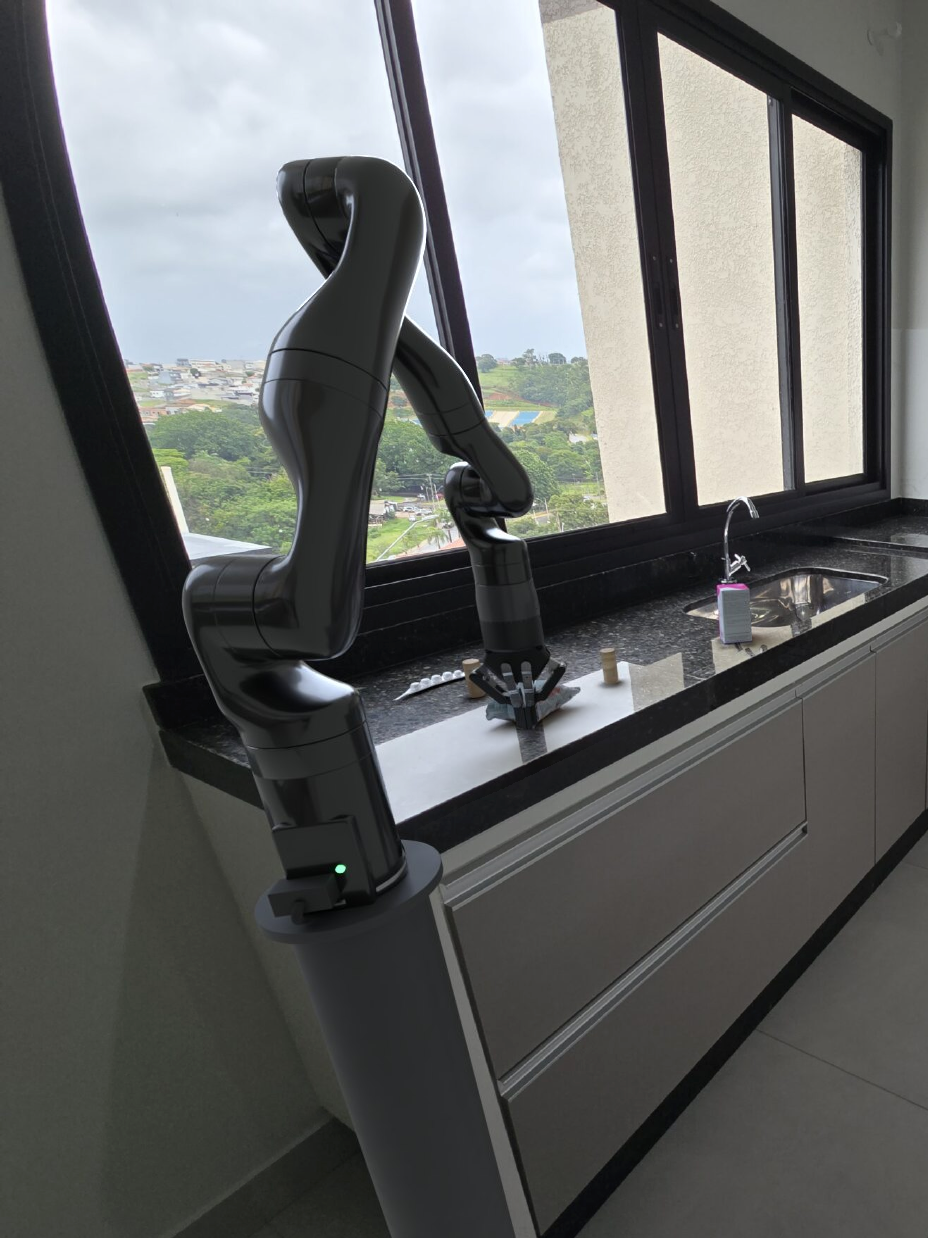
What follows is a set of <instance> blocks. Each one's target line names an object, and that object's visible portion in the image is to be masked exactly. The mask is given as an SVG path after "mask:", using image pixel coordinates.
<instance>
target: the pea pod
mask: <svg viewBox="0 0 928 1238" xmlns="http://www.w3.org/2000/svg"><path fill="white" fill-rule="evenodd" d="M461 678H465V674H464V671H462V670H460V669H457V670H455V671H453V673H452V671H444V672H443V673H442V675H440V674H434V675H432V676H431V677H430V678H428V677H427V678H426V677H424V678H422V679H421V680H420V681H419V682H412V683H410V685H409V688H408V689H407V690H406V691H405V692H404V693H403V694H401V695H400V696H398V697H397V698H395V699H394V701H395V702H396V701H399V700H401V699H402V698H404V697H406V696H408V695H412V694H415V693H417V692H420V691H423V690H425V689H428V688H430V687H433V686H434V687H435V686H437V685H440V684H443V683H447V682H450V681H453V680H457V679H461Z"/></svg>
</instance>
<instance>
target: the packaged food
mask: <svg viewBox="0 0 928 1238" xmlns="http://www.w3.org/2000/svg"><path fill="white" fill-rule="evenodd" d="M547 680H548V679H536V691H538V690H540V689H541V688H542V687H543V685H544V684H545V682H546V681H547ZM521 689H522V693H523V696H524V699H523V700H524V702H525V695H524V690H523V683H521ZM506 691H507V690H506ZM507 692H508V691H507ZM580 692H581V687H580V686H567V685H564V684H562V683H559V682H558V683H557V685H556V686H555V688H554V689H553V691H552V692H551V693H550V695H549V696H548V698H547V699H546V700H545V701H539V702H537V708H538V715H539V720H538V723H539V722H540V721H541V720H542V719H544V718H545V717H546V716H548V715H549V714H552V713H554V712H555V711H557V710H558V709H559V708H560V707H562V706H563V705H565V704H567V703H568V702H570V701H572V699H573V698H574V697H576V695H577V694H579V693H580ZM494 719H497V720H500V721H501V720H502V721H507V722H514V723H516V720H515V715H514V709H513V707H512V706H511V705H508V704H499V703H497V702H496V701H495V700H494V699H493V698H492V700H490V701H489V702H488V704H487V706H486V709H485V720H487V721H493V720H494Z"/></svg>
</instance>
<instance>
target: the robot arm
mask: <svg viewBox="0 0 928 1238" xmlns="http://www.w3.org/2000/svg"><path fill="white" fill-rule="evenodd" d="M275 179H276V180H275V189H276V194H277V195H276V196H277V199H278V204H279V206H280V209H281V212H282V214H283V217H284V218H285V220H286V221H287V224H288V226H289V228H290V229H291V231H292V233H293V235H294V236H295V238H296V239H297V241H298V242H299V244H300V246H301V247H302V249H303V250H304V252H305V254H307V256H308V257H309V259H310V260H311V262H312V263H313V264H314V266H315V268H316V269H317V270H318V272H319V273H320V274H321V275H322V277H323V278H324V280H325V281H324V282H323V283H322V284H321V285H320V286H319V287H318V288H317V289H316V290H315V291H314V292H313V293H312V294H311V295H310V296H309V297H308V298H307V299H306V300H305V301H304V302H303V303H302V304H301V305H299V307H298V308H297V309H296V310H295V312H293V313H292V315H291V316H290V317H289V318H288V319H287V320H286V321H285V323H284V324H282V326H281V328H280V329H279V331H278V332H277V333H276V334H275V336H274V337H273V340H272V342H271V344H270V348H269V350H268V354H267V356H266V361H265V365H264V370H263V374H262V378H261V383H260V388H259V395H258V401H257V412H258V417H259V418H258V419H259V422H260V424H261V428H262V429H263V432H264V434H265V436H266V438H267V440H268V442H269V444H270V446H271V448H272V450H273V452H274V453H275V455H276V457H277V459H278V460H279V462H280V464H281V465H282V467H283V468H284V471H285V472H286V474H287V476H288V478H289V480H290V483H291V484H292V487H293V491H294V493H295V499H296V517H295V525H294V533H293V538H292V541H291V545H290V548H289V549H288V552H287V554H275V553H274V554H266V553H265V554H262V553H261V554H260V553H259V554H258V553H256V554H255V553H254V554H253V553H252V554H248V553H247V554H246V553H245V554H244V553H242V554H240V553H239V554H237V553H236V554H235V553H234V554H220V555H214V556H211V557H207V558H205V559H203V560H201V561H199V562H198V563H197V564H195V566H194V567H193V568H191V570H190V571H189V573H188V575H187V576H186V579H185V582H184V584H183V587H182V593H181V594H182V595H181V597H182V598H181V606H182V607H181V608H182V614H183V619H184V623H185V626H186V631H187V634H188V636H189V639H190V641H191V644H192V646H193V649H194V652H195V654H196V656H197V659H198V661H199V663H200V666H201V668H202V670H203V673H204V675H205V678H206V680H207V682H208V685H209V687H210V689H211V692H212V694H213V697H214V700H215V701H216V704H217V707H218V708H219V710H220V712H221V713H222V714H223V716H224V717H225V718H226V719H227V720H228V721H229V722H230V723H231V724H233V726H234V727H235V729H236V730H237V731H238V733H239V736H240V739H241V742H242V746H243V748H244V751H245V754H246V758H247V760H248V763H249V764H248V765H249V766H250V769H251V773H252V776H253V779H254V782H255V785H256V788H257V792H258V794H259V797H260V801H261V804H262V807H263V810H264V813H265V816H266V818H267V821H268V824H269V827H270V835H271V838H272V841H273V844H274V848H275V850H276V853H277V857H278V859H279V862H280V863H279V864H280V866H281V868H282V872H283V874H284V875H283V876H285V879H281V878H279V879H278V880H276V882H277V883H276V884H275V885H274V887H273V888H272V889H271V891H270V892H269V893H268V895H267V896H268V899H269V902H270V905H271V907H272V910H273V913H274V916H275V918H276V917H282V916H288V915H291V921H292V923H293V924H294V925H302V924H306V923H308V922H309V921H311V916H310V915H312V914H318V913H324V912H330V911H337V910H343V909H349V908H355V907H361V906H367V905H372V904H374V903H375V901H376V899H377V898H378V897H379V896H381V895H382V894H384V893H386V892H388V891H389V890H391V889H392V888H393V887H395V886H396V885H397V884H398V883H399V882H400V881H401V880H402V879H403V878H404V877H405V875H406V873H407V871H408V865H407V861H406V857H405V855H406V853H405V849H404V846H403V844H402V842H401V840H402V839H401V838H400V836H399V831H398V827H397V824H396V821H395V817H394V813H393V809H392V805H391V801H390V798H389V794H388V790H387V787H386V782H385V779H384V775H383V772H382V768H381V764H380V760H379V757H378V753H377V747H376V745H375V740H374V736H373V732H372V728H371V725H370V721H369V717H368V712H367V709H366V706H365V702H364V697H363V696H362V694H361V692H360V691H359V690H358V689H357V688H356V687H355V686H353V685H351V684H349V683H346V682H345V681H344V682H343V681H341V680H338V679H335V678H333V677H330V676H328V675H325V674H323V673H321V672H319V671H317V670H315V669H314V668H313V667H311V666H310V665H308V664H307V663H306V662H308V661H327V660H331V659H332V660H333V659H335V658H337V657H339V656H342V655H343V654H345V653H346V652H347V651H348V650H349V648H350V647H351V646H352V645H353V643H354V642H355V639H356V638H357V635H358V633H359V630H360V627H361V621H362V617H363V612H364V606H365V595H366V594H365V593H366V580H367V578H366V577H367V558H368V557H367V554H368V536H369V535H368V534H369V522H370V521H369V519H370V513H371V512H370V510H371V509H370V508H371V501H372V494H373V488H374V487H373V486H374V482H375V481H374V480H375V473H376V468H377V463H378V462H377V461H378V456H379V452H380V446H381V442H382V437H383V433H384V429H385V423H386V419H387V412H388V405H389V399H390V392H391V383H392V375H393V376H394V378H395V379H396V381H397V382H398V384H399V386H400V388H401V390H402V392H403V393H404V395H405V397H406V399H407V401H408V402H409V404H410V406H411V408H412V410H413V412H414V414H415V416H416V418H417V420H418V421H419V423H420V425H421V427H422V429H423V430H424V433H425V435H426V436H427V438H428V440H429V442H430V443H431V445H432V446H433V448H435V450H436V451H438V452H440V453H442V454H444V455H447V456H450V457H454V458H456V459H459V460H461V461H460V462H456V463H454V464H452V465H450V467H449V468H448V469H447V470H446V472H445V473H444V477H443V481H442V496H443V500H444V504H445V505H446V508H447V511H448V513H449V514H450V517H451V518H452V520H453V522H454V525H455V527H456V529H457V531H458V533H459V535H460V538H461V539H462V541H463V544H464V545H465V547H466V549H467V551H468V553H469V557H470V565H471V571H472V575H473V582H474V586H475V588H474V590H475V603H476V609H477V614H478V620H479V626H480V631H481V636H482V641H483V647H484V656H483V658H482V664H480V666H479V667H478V668H474V669H473V671H472V672H471V674H470V675H469V679H470V680H471V681H472V682H473V683H474V684H476V685H477V686H478V687H479V688H480V689H482V690H483V691H484V692H485V694H487V696H489V697H490V698H491V699H492V700H493V699H494V700H495V701H496V702H497V703H499V704H508V705H511V706H512V707H513V709H514V715H515V720H516V722H515V724H516V726H517V728H521V730H522V731H531V730H535V727H536V726H538V724H539V722H538V720H539V715H538V708H537V702H539V701H545V700H546V699H547V698H548V696H549V695H550V693H551V692H552V691H553V689H554V688H555V686H556V685H557V683H558V684H559V682H560V680H561V679H562V678H563V677H564V675H565V673H567V669H568V662H566V661H564V660H562V661H559V660H557V658H554V657H552V655H551V652H550V650H549V649H548V648H547V646H546V643H545V636H544V630H543V623H542V617H541V611H540V609H541V604H540V601H539V597H538V593H537V589H536V586H535V582H534V578H533V573H532V565H531V558H530V553H529V547H528V544H527V542H526V541H525V540H524V539H523V538H521V537H520V536H517V535H514V534H510V533H508V532H505V531H504V530H502V529H501V528H500V526H499V525H498V522H497V521H496V519H519V518H522V517H524V516H525V515H527V514H528V513H529V511H531V509H532V506H533V504H534V497H535V493H534V487H533V482H532V480H531V477H530V475H529V474H528V471H527V470H526V468H525V466H523V464H522V463H521V461H520V460H519V459H518V457H517V456H516V455H515V454H514V452H513V451H512V450H511V449H510V448H509V446H508V445H507V444H506V442H505V441H504V439H502V437H501V436H500V435H499V434H498V432H496V430H495V429H494V428H493V427H492V425H491V423H490V422H489V419H488V417H487V415H486V413H485V411H484V408H483V407H482V404H481V402H480V400H479V398H478V395H477V393H476V391H475V389H474V386H473V385H472V383H471V382H470V379H469V378H468V376H467V374H466V373H465V372H464V370H463V369H462V367H461V366H460V365H459V364H458V362H457V361H456V360H455V359H454V358H453V356H451V354H450V353H449V352H448V351H447V350H445V348H443V347H442V346H441V344H439V343H438V342H437V341H436V340H435V339H433V338H432V337H431V336H430V335H429V334H428V333H427V332H426V331H425V330H423V329H422V328H421V327H420V326H419V325H418V324H417V323H416V322H415V321H414V320H413V319H411V317H410V316H409V315H408V314H407V313H406V310H407V307H408V303H409V300H410V298H411V294H412V291H413V288H414V285H415V282H416V280H417V276H418V273H419V270H420V267H421V264H422V260H423V257H424V252H425V247H426V239H427V219H426V214H425V210H424V205H423V201H422V199H421V198H422V197H421V195H420V193H419V191H418V189H417V187H416V185H415V183H414V182H413V180H412V179H411V177H410V176H409V175H408V174H407V173H406V172H405V171H404V170H403V169H402V168H401V167H399V166H398V165H397V164H396V163H394V162H392V161H390V160H389V159H385V158H382V157H379V156H372V155H363V154H362V155H361V154H359V155H340V156H325V157H311V158H301V159H293V160H289V161H287V162H285V163H284V164H282V165H281V166H280V168H279V169H278V172H277V175H276V178H275ZM305 661H306V662H305ZM547 665H548V669H547V673H548V675H549V677H548V678H547V679H546V680H547V681H546V682H545V684H544V685H543V687H542V688H541V689H540V690H538V691H536V680H539V678H540V676H541V674H542V673H543V671H544V670H545V668H546V667H547ZM492 674H493V675H494V676H495V677H497V679H499V680H500V681H501V682H502V683H504V684H505V688H506V689H505V688H504V687H503V686H501V684H499V683H498V682H497V681H496V680H494V679H493V678H492ZM522 683H523V690H524V695H525V702H524V700H523V699H524V696H523V693H522V689H521V684H522ZM507 691H508V692H507ZM402 848H403V850H402ZM403 851H404V853H405V855H404V853H403Z"/></svg>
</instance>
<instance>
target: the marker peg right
mask: <svg viewBox="0 0 928 1238" xmlns="http://www.w3.org/2000/svg"><path fill="white" fill-rule="evenodd" d="M599 654H600V660H601V668H602V669H601V670H602V677H603V683H604V685H615V684H618V683H619V682H620V678H619V671H618V670H619V669H618V663H617V656H616V654H617V653H616V649H615V648H612V647H606V648H602V649H600V650H599Z"/></svg>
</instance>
